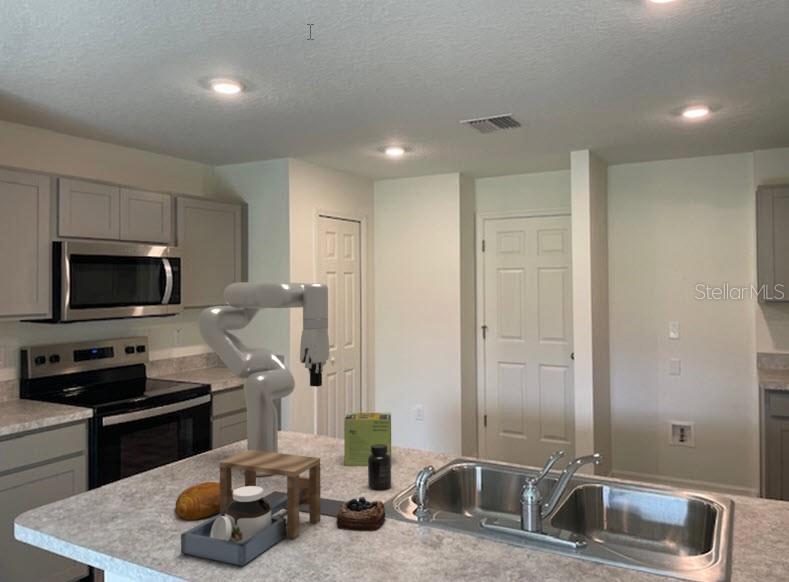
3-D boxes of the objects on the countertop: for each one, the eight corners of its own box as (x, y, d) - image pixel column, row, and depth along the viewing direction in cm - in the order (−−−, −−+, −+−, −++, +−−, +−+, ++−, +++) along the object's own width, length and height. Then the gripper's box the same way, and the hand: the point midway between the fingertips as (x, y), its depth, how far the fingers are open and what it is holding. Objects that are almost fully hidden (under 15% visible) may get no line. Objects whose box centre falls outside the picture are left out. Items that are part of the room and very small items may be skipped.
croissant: (243, 517, 157) (247, 486, 158) (188, 525, 146) (192, 492, 147) (215, 502, 167) (219, 473, 168) (161, 509, 156) (166, 478, 157)
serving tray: (181, 552, 130) (180, 522, 130) (278, 496, 165) (278, 473, 165) (242, 565, 124) (242, 534, 124) (330, 504, 159) (330, 480, 159)
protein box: (390, 466, 195) (390, 418, 195) (344, 466, 195) (343, 418, 195) (391, 457, 205) (391, 412, 205) (347, 457, 205) (346, 412, 205)
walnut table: (220, 525, 146) (219, 461, 146) (249, 508, 157) (249, 449, 157) (294, 539, 138) (294, 471, 138) (320, 520, 149) (320, 458, 149)
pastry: (380, 533, 142) (379, 508, 142) (331, 530, 144) (331, 505, 144) (388, 516, 152) (388, 493, 152) (343, 513, 155) (343, 490, 155)
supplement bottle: (392, 483, 177) (392, 443, 177) (390, 491, 171) (389, 449, 170) (369, 482, 178) (369, 442, 178) (366, 490, 171) (366, 448, 171)
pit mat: (253, 503, 161) (253, 502, 161) (274, 492, 170) (274, 490, 170) (338, 517, 151) (338, 516, 151) (356, 504, 160) (356, 503, 160)
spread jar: (276, 538, 139) (276, 488, 139) (246, 558, 128) (245, 504, 128) (234, 530, 143) (234, 482, 143) (202, 549, 133) (201, 497, 133)
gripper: (317, 323, 186) (317, 381, 186) (291, 325, 172) (291, 389, 172) (338, 323, 183) (338, 383, 183) (313, 326, 169) (314, 390, 169)
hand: (315, 385), depth 178 cm, fingers closed
